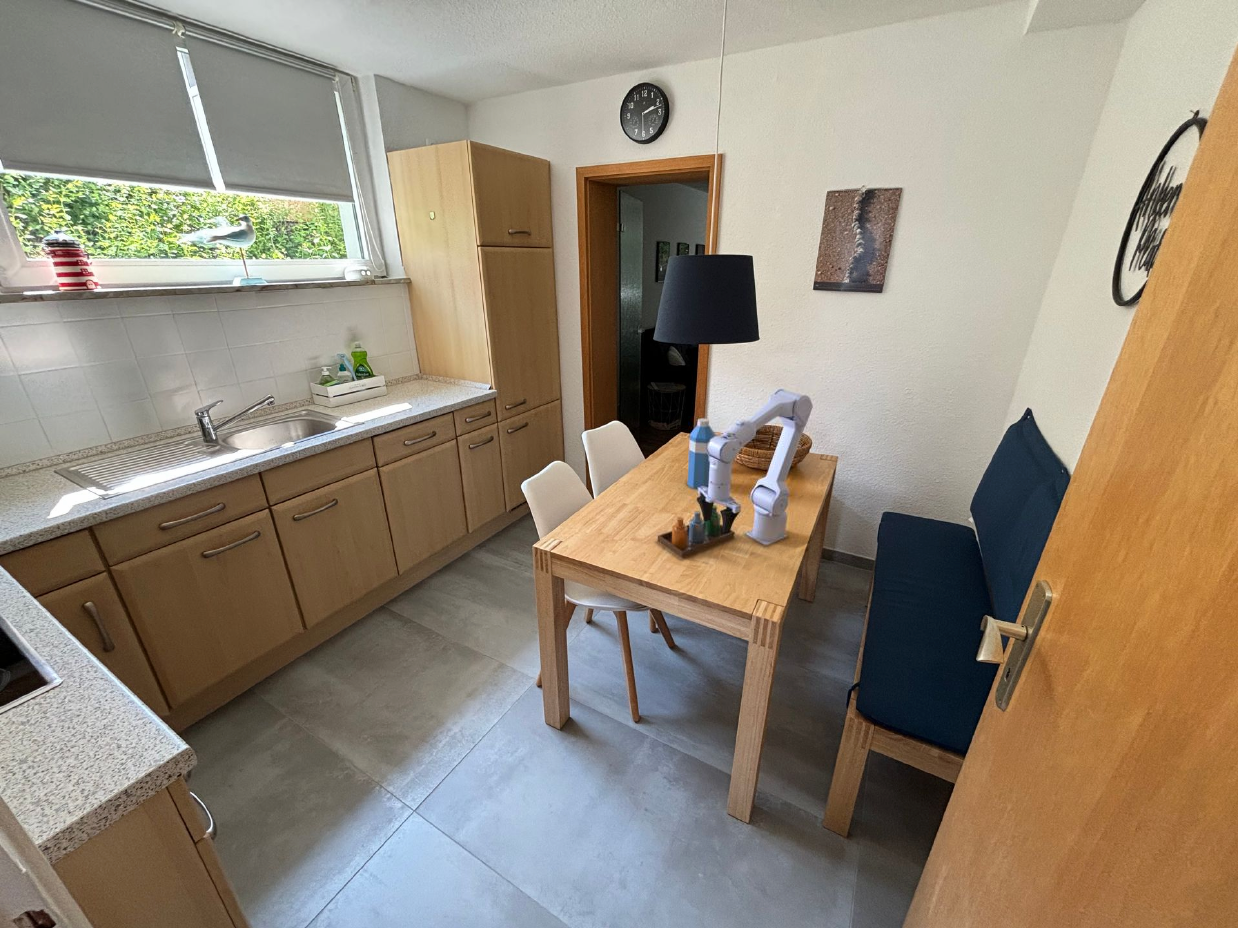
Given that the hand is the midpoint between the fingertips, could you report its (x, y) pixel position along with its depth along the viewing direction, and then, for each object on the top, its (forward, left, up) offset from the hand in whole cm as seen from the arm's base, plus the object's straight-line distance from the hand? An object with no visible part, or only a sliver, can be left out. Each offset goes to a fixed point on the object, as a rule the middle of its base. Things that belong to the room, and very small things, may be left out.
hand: (716, 525), depth 137 cm
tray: (-1, -9, -9) cm, 13 cm away
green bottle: (-7, -9, -9) cm, 15 cm away
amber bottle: (+6, -9, -9) cm, 14 cm away
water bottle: (-29, -39, -10) cm, 50 cm away
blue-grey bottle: (-1, -9, -9) cm, 13 cm away
